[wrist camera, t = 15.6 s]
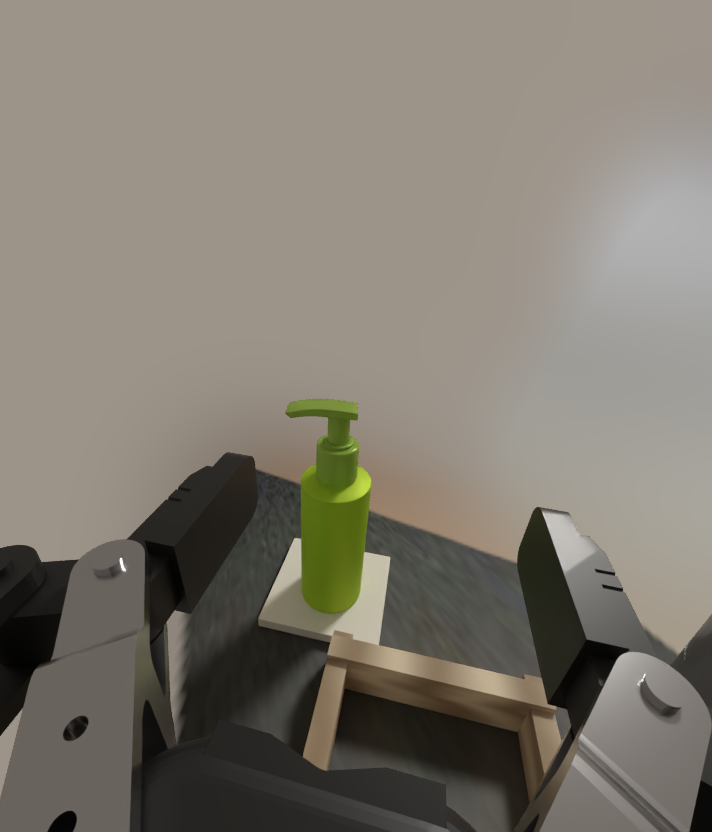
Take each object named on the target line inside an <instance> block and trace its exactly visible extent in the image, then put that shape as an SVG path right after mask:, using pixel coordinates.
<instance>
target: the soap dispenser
mask: <svg viewBox="0 0 712 832" xmlns="http://www.w3.org/2000/svg"><path fill="white" fill-rule="evenodd" d="M286 414H287V415H288V416H289V417H290V418H294V417H302V416H319V417H320V416H321V417H328V435H325V436H323V437H321V438H320V439H319V440H318V442H317V462H316V464H314V465H312V466H311V467H309V468H308V469H307V470H306V471H305V472H304V473H303V475H302V478H301V589H302V594H303V597H304V599H305V601H306V602H307V603H308V604H309V605H310V606H311V607H312V608H314V609H315V610H317V611H320V612H324V613H338V612H341V611H344V610H346V609H348V608H349V607H351V606H352V605H353V604H354V603H355V602H356V600H357V599H358V597H359V594H360V590H361V580H362V570H363V560H364V550H365V540H366V530H367V520H368V511H369V501H370V490H371V479H370V476H369V475H368V473H367V472H366V471H365V470H364V469H363V468H361V467H360V466H358V454H359V443H358V441H357V440H356V439H355V438H353V437H351V436H349V431H350V420H357V419H358V403H353V402H347V401H340V400H332V399H306V400H299V401H294V402H291V403H289V405H288V407H287V410H286Z"/></svg>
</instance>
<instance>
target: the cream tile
mask: <svg viewBox="0 0 712 832" xmlns="http://www.w3.org/2000/svg"><path fill="white" fill-rule="evenodd" d="M389 564H390V557H387V556H382V555H377V554H372V553H367V552H364V560H363V570H362V580H361V590H360V594H359V597H358V599H357V600H356V602H355V603H354V604H353V605H352V606H351V607H349V608H348V609H346V610H344V611H341V612H338V613H324V612H320V611H317V610H315V609H314V608H312V607H311V606H310V605H309V604H308V603H307V602H306V601H305V599H304V597H303V594H302V589H301V539H297V538H295V539H294V541H293V543H292V545H291V547H290V550H289V552H288V554H287V556H286V558H285V561H284V563H283V565H282V567H281V569H280V572H279V574H278V576H277V578H276V580H275V583H274V585H273V587H272V589H271V591H270V594H269V596H268V598H267V600H266V602H265V605H264V607H263V609H262V611H261V613H260V616H259V618H258V624H259V626H262V627H266V628H271V629H275V630H279V631H283V632H287V633H292V634H296V635H300V636H304V637H309V638H313V639H317V640H321V641H325V642H331V638H332V634H333V633H334V630H336V631H341V632H345V633H349V634H353V639H354V640H358V641H363V642H367V643H371V644H376V645H379V639H380V632H381V624H382V617H383V609H384V602H385V594H386V587H387V579H388V572H389Z"/></svg>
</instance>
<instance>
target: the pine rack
mask: <svg viewBox="0 0 712 832" xmlns="http://www.w3.org/2000/svg"><path fill="white" fill-rule="evenodd" d="M345 689H348V690H352V691H356V692H360V693H364V694H368V695H372V696H376V697H380V698H384V699H388V700H392V701H396V702H400V703H404V704H408V705H412V706H416V707H420V708H424V709H428V710H432V711H436V712H440V713H443V714H447V715H451V716H455V717H459V718H463V719H467V720H471V721H475V722H479V723H483V724H487V725H491V726H495V727H499V728H503V729H507V730H511V731H515V732H518V738H519V744H520V750H521V756H522V762H523V768H524V774H525V780H526V786H527V792H528V798H529V803H530V801H531V800H532V798H533V796H534V794H535V792H536V790H537V788H538V786H539V784H540V782H541V780H542V778H543V776H544V774H545V772H546V771H547V769H548V767H549V765H550V763H551V761H552V759H553V757H554V755H555V753H556V751H557V749H558V747H559V745H560V743H561V738H560V734H559V730H558V726H557V722H556V718H555V712H556V710H557V709H556V706H552V705H548V704H547V699H546V695H545V690H544V686H543V681H542V678H539V677H535V676H530V675H526V674H524V675H523V677H522V679H521V678H517V677H512V676H508V675H504V674H500V673H495V672H491V671H487V670H483V669H478V668H474V667H470V666H465V665H461V664H457V663H453V662H448V661H444V660H440V659H435V658H431V657H427V656H423V655H418V654H414V653H410V652H406V651H401V650H397V649H393V648H388V647H384V646H380V645H376V644H371V643H367V642H363V641H358V640H354V639H353V634H349V633H345V632H341V631H336V630H334V633H333V634H332V638H331V642H330V646H329V650H328V654H327V661H326V665H325V669H324V673H323V677H322V681H321V685H320V689H319V693H318V697H317V701H316V705H315V709H314V713H313V717H312V721H311V725H310V729H309V733H308V737H307V741H306V745H305V749H304V753H303V757H304V758H305V759H307V760H308V761H309V762H311V763H312V764H314V765H315V766H317V767H318V768H320V769H322V770H327V771H329V767H330V762H331V757H332V752H333V747H334V741H335V736H336V731H337V726H338V721H339V716H340V711H341V706H342V700H343V695H344V690H345Z"/></svg>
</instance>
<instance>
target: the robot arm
mask: <svg viewBox="0 0 712 832" xmlns="http://www.w3.org/2000/svg"><path fill="white" fill-rule="evenodd" d="M257 501H258V493H257V481H256V469H255V461H254V458H253V457H252V456H247V455H241V454H235V453H229V452H228V453H226V454H224V455H223V456H222V457H221V458H220V459H219V460H218V462H217V463H216V464H215V465H214V466H213V467H211V466H206V467H204V468H202V469H200V470H199V471H197V472H195V473H193V474H191V475H190V476H189V477H188V478H187V479H186V480H185V481H184V482H183V483H182V484H181V485H180V486H179V488H178V490H175V491H174V492H173V493H172V494H171V495H170V496H169V498H168V500H165V501H164V502H163V503H162V504H161V505H160V506H159V507H158V508H157V509H156V510H155V511H154V512H153V513H152V514H151V515H150V516H149V517H148V518H147V519H146V520H145V522H143V523H142V524H141V525H140V527H138V529H136V531H135V532H134V533H133V534H132V535H131V536H130V537H129V538H128V539H126V540H124V539H123V540H116V541H111V542H107V543H105V544H102V545H100V546H98V547H96V548H94V549H92V550H91V551H89V552H87V554H85V555H84V556H82V557H81V558H80V559H79V560H66V561H52V562H41V560H40V558H39V556H38V554H37V552H36V551H35V549H34V548H31V547H29V546H25V545H14V546H7V547H3V548H0V736H1V734H2V733H3V732H4V731H5V729H6V728H7V727H8V726H9V724H10V723H11V722H12V721H13V719H14V718H15V717H16V716H17V714H18V713H19V712H20V711H21V709H22V708H23V710H22V715H21V718H20V723H19V726H18V730H17V734H16V738H15V743H14V746H13V750H12V754H11V758H10V762H9V766H8V770H7V774H6V778H5V783H4V787H3V790H2V794H1V798H0V832H476V831H475V830H474V829H473V827H472V826H471V825H470V824H469V823H468V822H466V821H465V820H464V819H463V818H462V817H461V816H460V815H458V814H457V813H456V812H455V811H453V810H452V809H451V808H449V807H448V806H446V785H445V784H441V783H438V782H434V781H431V780H427V779H424V778H421V777H417V776H414V775H410V774H407V773H403V772H400V771H396V770H393V769H389V768H369V769H351V770H333V771H327V770H322V769H320V768H318V767H317V766H315V765H314V764H312V763H311V762H309V761H308V760H307V759H305V758H304V757H302V756H301V755H300V754H298V753H297V752H295V751H294V750H293V749H291V748H290V747H288V746H287V745H286V744H284V743H283V742H281V741H280V740H279V739H277V738H276V737H274V736H273V735H272V734H269V733H265V732H262V731H258V730H255V729H251V728H248V727H245V726H241V725H238V724H234V723H231V722H227V721H224V720H220V719H219V721H218V723H217V725H216V728H215V730H214V732H213V734H212V737H204V738H199V739H195V740H190V741H187V742H185V743H182V744H179V745H176V739H175V730H174V723H173V718H172V712H171V703H170V682H169V656H168V633H167V632H168V631H167V624H166V622H167V620H168V619H169V618H170V616H171V614H172V613H173V612H174V610H176V611H181V612H185V613H189V614H191V613H192V611H193V609H194V608H195V606H196V605H197V603H198V602H199V600H200V598H201V597H202V595H203V594H204V592H205V591H206V589H207V587H208V586H209V584H210V583H211V581H212V580H213V578H214V576H215V575H216V573H217V572H218V570H219V569H220V567H221V565H222V564H223V562H224V561H225V559H226V558H227V556H228V555H229V553H230V551H231V550H232V548H233V547H234V545H235V544H236V542H237V540H238V539H239V537H240V536H241V534H242V533H243V531H244V529H245V528H246V526H247V525H248V523H249V522H250V520H251V518H252V517H253V515H254V513H255V510H256V506H257ZM517 565H518V573H519V577H520V582H521V586H522V591H523V596H524V600H525V605H526V609H527V614H528V618H529V623H530V627H531V632H532V636H533V641H534V645H535V650H536V654H537V659H538V663H539V668H540V672H541V677H542V681H543V686H544V690H545V695H546V699H547V704H548V705H552V706H556V707H560V708H565V709H567V711H568V715H569V719H570V723H571V726H570V727H569V729H568V730H567V732H566V734H565V736H564V738H563V740H562V742H561V743H560V745H559V747H558V749H557V751H556V753H555V755H554V757H553V759H552V761H551V763H550V765H549V767H548V769H547V771H546V772H545V774H544V776H543V778H542V780H541V782H540V784H539V786H538V788H537V790H536V792H535V794H534V796H533V798H532V800H531V801H530V803H529V805H528V807H527V809H526V811H525V812H524V814H523V816H522V818H521V819H520V821H519V822H518V824H517V826H516V827H515V829H514V831H513V832H712V614H711V616H710V617H709V618H708V620H707V621H706V622H705V623H704V624H703V626H702V627H701V628H700V629H699V631H698V632H697V633H696V634H695V636H694V637H693V638H692V639H691V640H690V642H689V643H688V644H687V645H686V647H685V648H684V649H683V650H682V652H681V653H680V654H679V655H678V657H677V658H676V659H675V660H674V662H673V663H672V664H671V665H670V666H669V665H668V664H666V663H664V662H663V661H661V660H659V659H658V657H657V655H656V653H655V651H654V649H653V647H652V645H651V643H650V641H649V639H648V637H647V635H646V633H645V631H644V629H643V627H642V625H641V623H640V621H639V619H638V617H637V615H636V613H635V611H634V609H633V607H632V605H631V603H630V601H629V599H628V597H627V595H626V593H624V592H623V587H622V585H621V583H620V581H619V579H618V577H617V576H615V571H614V569H613V567H612V565H611V563H610V561H609V559H608V557H607V555H606V553H605V552H604V551H603V550H602V549H601V548H600V547H599V546H598V545H597V544H596V543H595V542H594V541H593V540H592V539H591V538H590V537H589V536H585V535H579V533H578V530H577V528H576V526H575V524H574V521H573V519H572V517H571V515H570V514H569V513H568V512H563V511H557V510H552V509H546V508H540V507H537V508H535V510H534V511H533V513H532V516H531V518H530V521H529V523H528V526H527V529H526V532H525V534H524V537H523V539H522V542H521V545H520V547H519V551H518V559H517Z"/></svg>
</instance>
